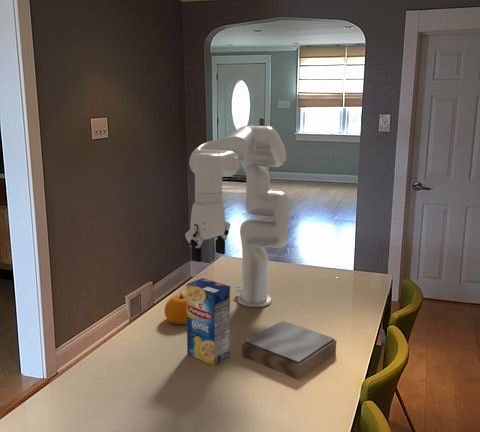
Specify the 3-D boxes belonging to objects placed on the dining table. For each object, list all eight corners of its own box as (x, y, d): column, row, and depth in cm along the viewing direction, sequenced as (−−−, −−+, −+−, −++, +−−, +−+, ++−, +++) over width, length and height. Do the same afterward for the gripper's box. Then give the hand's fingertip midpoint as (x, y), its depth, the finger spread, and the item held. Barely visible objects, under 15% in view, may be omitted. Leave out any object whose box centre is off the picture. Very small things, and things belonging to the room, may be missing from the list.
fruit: (165, 329, 170) (165, 300, 168) (163, 314, 181) (163, 288, 179) (201, 326, 172) (200, 298, 170) (196, 312, 183) (196, 286, 181)
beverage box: (214, 365, 147) (214, 292, 142) (187, 353, 153) (186, 283, 149) (230, 356, 152) (230, 286, 147) (202, 345, 159) (202, 277, 154)
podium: (242, 356, 152) (242, 340, 151) (281, 334, 167) (281, 319, 166) (298, 379, 140) (299, 363, 138) (335, 353, 155) (336, 338, 153)
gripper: (219, 192, 151) (219, 248, 155) (176, 200, 138) (177, 261, 142) (239, 195, 147) (238, 253, 150) (196, 204, 134) (196, 266, 137)
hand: (208, 257), depth 146 cm, fingers open, 9 cm apart
